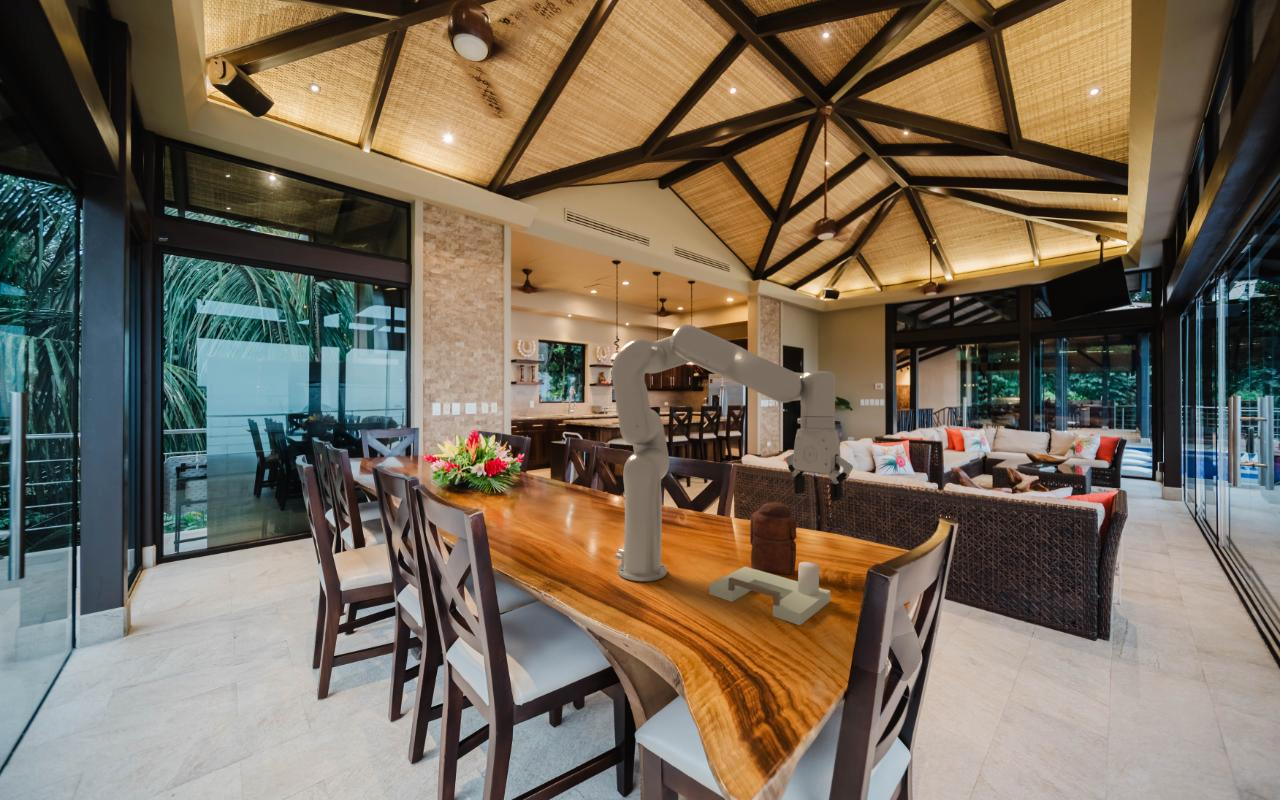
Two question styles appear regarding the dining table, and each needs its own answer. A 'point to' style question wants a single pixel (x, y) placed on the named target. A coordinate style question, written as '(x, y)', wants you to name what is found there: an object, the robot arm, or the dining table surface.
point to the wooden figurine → (773, 539)
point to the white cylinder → (808, 578)
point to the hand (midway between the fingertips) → (817, 496)
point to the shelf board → (771, 593)
